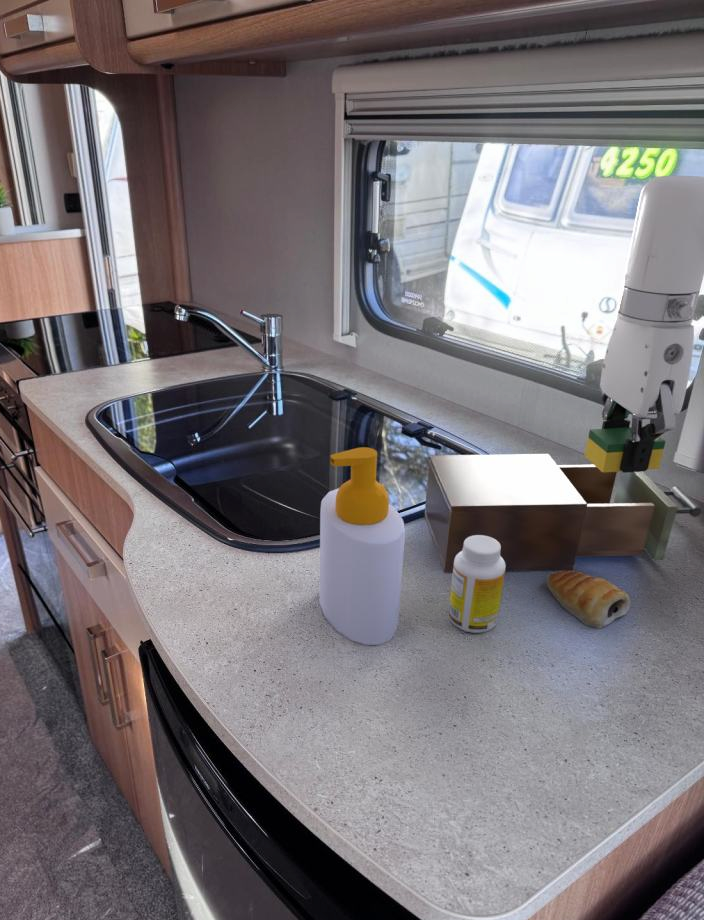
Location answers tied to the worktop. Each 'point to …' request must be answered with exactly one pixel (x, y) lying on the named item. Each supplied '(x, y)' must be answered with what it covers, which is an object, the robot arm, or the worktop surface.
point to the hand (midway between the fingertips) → (621, 459)
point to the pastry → (588, 597)
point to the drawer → (625, 512)
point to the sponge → (615, 449)
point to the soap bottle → (361, 553)
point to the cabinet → (505, 509)
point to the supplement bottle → (477, 585)
